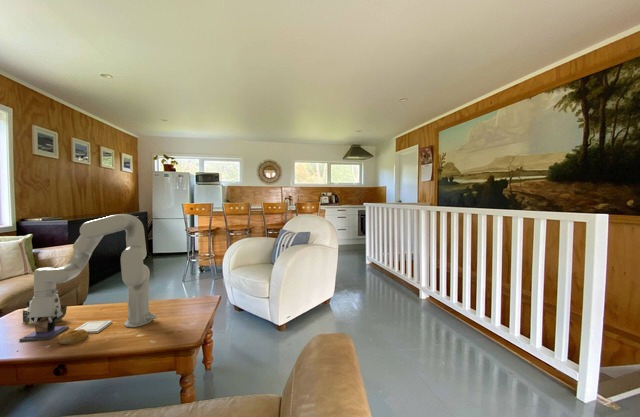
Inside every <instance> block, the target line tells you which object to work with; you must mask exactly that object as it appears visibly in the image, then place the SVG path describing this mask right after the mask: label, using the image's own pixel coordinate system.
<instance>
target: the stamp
mask: <svg viewBox="0 0 640 417" xmlns="http://www.w3.org/2000/svg"><path fill="white" fill-rule="evenodd" d="M48 323H49V319H48V317H41V320H40V321H38V322H36V334H40V333H48V332H50V331H51V330H50V331H48ZM52 330H53V329H52Z"/></svg>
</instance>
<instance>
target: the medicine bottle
mask: <svg viewBox="0 0 640 417" xmlns="http://www.w3.org/2000/svg"><path fill="white" fill-rule="evenodd" d="M31 302H32V298H31V299H29V300H27V301H26V308H23V309H22V323H25V324H27V325H32V324H34V322H33V321H32V320H31V319H30V318H28V317H27V316H28V315H29V313H30V309H31Z"/></svg>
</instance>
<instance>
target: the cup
mask: <svg viewBox="0 0 640 417" xmlns="http://www.w3.org/2000/svg"><path fill="white" fill-rule="evenodd" d="M60 308H61V312H62V313H63V314H62V315H61V316H60V317H58V318H57V319H56V320H55V324H57V323H60V322H62V321H63V318H64V317H65V316H66V315H67V308H68V305H66V304H64V305H63V304H62V305H61V304H60ZM55 315H57V314H55Z"/></svg>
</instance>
